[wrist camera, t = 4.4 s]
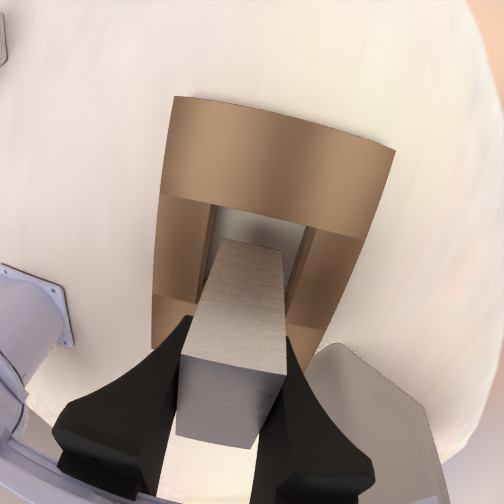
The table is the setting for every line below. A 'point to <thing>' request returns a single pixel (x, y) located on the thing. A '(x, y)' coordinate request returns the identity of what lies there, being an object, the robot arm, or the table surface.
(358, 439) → the tall grey carton
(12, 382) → the robot arm
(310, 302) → the well block
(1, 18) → the skincare box
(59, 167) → the table surface
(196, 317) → the brushed metal block
